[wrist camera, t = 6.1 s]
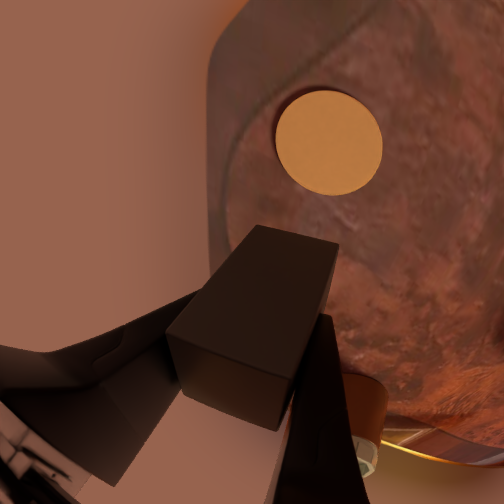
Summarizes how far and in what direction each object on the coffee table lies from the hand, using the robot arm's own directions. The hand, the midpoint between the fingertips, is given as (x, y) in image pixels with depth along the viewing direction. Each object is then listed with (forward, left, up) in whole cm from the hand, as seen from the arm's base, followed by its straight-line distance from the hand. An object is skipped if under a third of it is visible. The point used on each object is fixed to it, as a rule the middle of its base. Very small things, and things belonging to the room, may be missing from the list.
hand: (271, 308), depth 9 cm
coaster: (-1, +2, -13) cm, 13 cm away
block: (0, 0, -2) cm, 2 cm away
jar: (+7, -24, -13) cm, 28 cm away
